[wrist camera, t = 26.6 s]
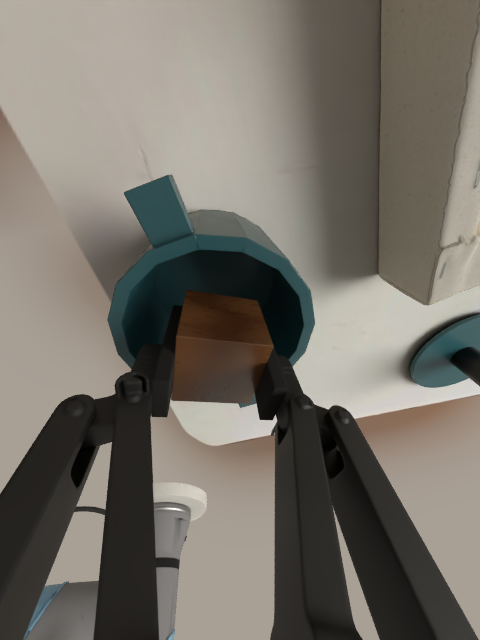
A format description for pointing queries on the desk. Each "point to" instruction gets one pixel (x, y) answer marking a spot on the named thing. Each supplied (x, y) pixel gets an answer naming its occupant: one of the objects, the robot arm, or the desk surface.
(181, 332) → the block
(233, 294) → the pot
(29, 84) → the desk surface
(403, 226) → the box
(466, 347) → the lid
